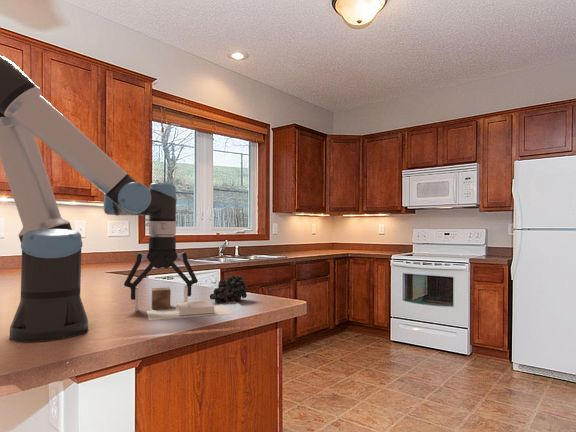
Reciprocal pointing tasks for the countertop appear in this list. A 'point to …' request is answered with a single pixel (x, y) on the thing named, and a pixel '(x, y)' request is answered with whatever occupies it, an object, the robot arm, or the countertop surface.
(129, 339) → the countertop surface
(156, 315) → the mat
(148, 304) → the countertop surface
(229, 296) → the fruit
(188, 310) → the tile
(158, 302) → the walnut block
